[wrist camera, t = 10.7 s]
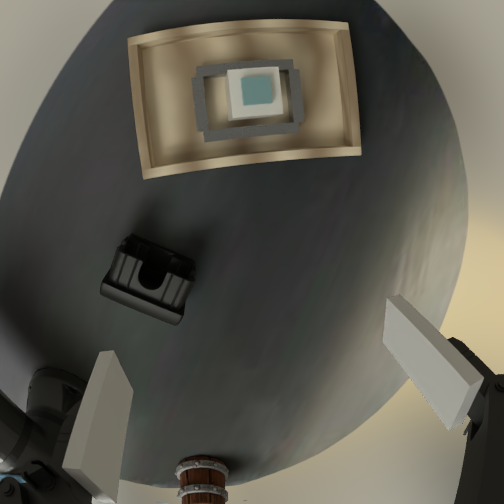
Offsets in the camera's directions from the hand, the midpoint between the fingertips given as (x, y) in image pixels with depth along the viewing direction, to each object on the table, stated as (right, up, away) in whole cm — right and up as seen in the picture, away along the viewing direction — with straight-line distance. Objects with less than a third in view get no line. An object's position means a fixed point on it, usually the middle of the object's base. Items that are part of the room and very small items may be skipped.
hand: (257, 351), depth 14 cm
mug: (-12, -44, +44) cm, 64 cm away
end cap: (-13, +2, +26) cm, 29 cm away
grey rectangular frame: (-1, +22, +19) cm, 29 cm away
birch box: (-1, +22, +19) cm, 29 cm away
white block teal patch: (-1, +21, +18) cm, 28 cm away
